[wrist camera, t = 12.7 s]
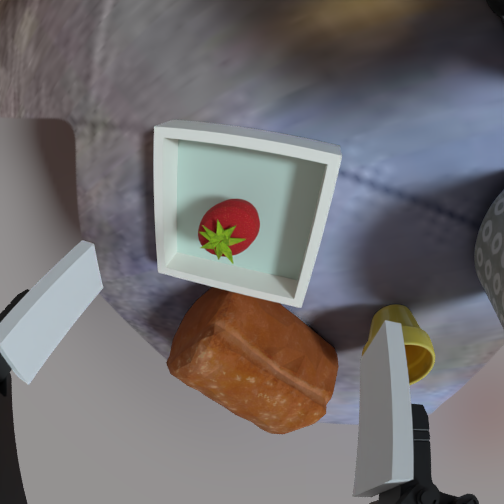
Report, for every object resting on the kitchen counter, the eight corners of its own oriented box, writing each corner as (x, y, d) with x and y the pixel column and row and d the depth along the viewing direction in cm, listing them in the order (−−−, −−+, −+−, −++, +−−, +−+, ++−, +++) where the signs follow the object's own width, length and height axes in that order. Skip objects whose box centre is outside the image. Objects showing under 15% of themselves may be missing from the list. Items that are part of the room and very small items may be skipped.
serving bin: (174, 119, 34) (154, 126, 30) (339, 145, 32) (342, 155, 28) (172, 253, 45) (158, 272, 41) (304, 284, 43) (301, 308, 39)
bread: (277, 383, 58) (263, 447, 45) (180, 313, 52) (143, 378, 40) (346, 351, 49) (343, 427, 36) (239, 261, 43) (204, 338, 31)
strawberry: (279, 211, 37) (263, 256, 28) (233, 239, 40) (208, 286, 32) (249, 173, 35) (223, 207, 27) (204, 205, 39) (170, 245, 30)
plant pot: (407, 281, 39) (421, 331, 31) (431, 323, 41) (443, 371, 33) (348, 313, 44) (348, 364, 36) (378, 349, 47) (380, 397, 39)
